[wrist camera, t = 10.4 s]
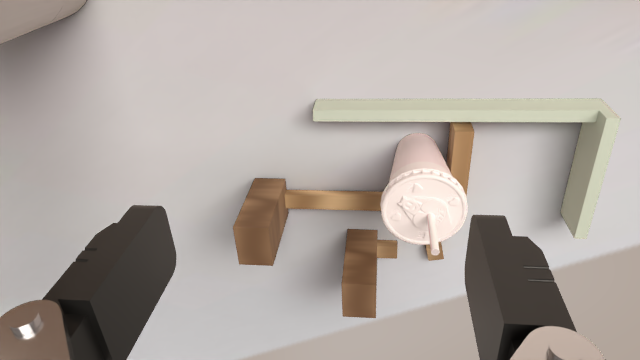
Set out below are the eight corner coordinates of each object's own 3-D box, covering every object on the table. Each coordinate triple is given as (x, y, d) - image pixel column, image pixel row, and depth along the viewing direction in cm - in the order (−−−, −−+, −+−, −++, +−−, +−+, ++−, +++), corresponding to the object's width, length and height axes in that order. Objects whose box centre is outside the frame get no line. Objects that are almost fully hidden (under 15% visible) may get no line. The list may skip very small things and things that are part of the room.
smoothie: (428, 192, 47) (442, 297, 35) (368, 163, 46) (362, 261, 34) (467, 139, 43) (498, 235, 31) (404, 106, 43) (411, 193, 31)
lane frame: (322, 206, 49) (317, 230, 45) (316, 99, 43) (310, 117, 40) (571, 212, 46) (586, 238, 43) (601, 98, 40) (620, 118, 37)
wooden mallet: (259, 212, 50) (239, 264, 43) (246, 116, 44) (221, 158, 38) (457, 217, 47) (469, 273, 41) (468, 116, 42) (484, 161, 35)
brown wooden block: (348, 259, 52) (342, 316, 45) (347, 229, 50) (341, 283, 43) (441, 263, 51) (450, 322, 44) (444, 232, 49) (454, 288, 42)
